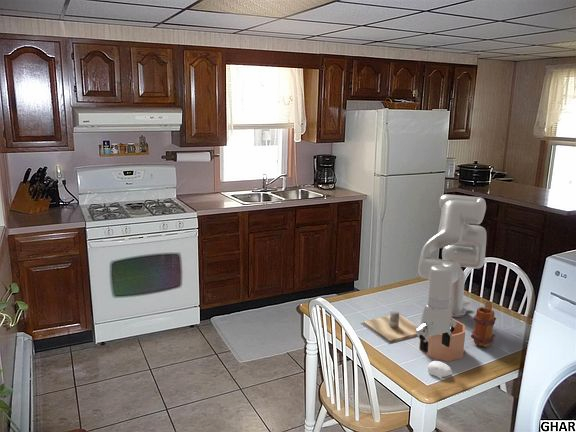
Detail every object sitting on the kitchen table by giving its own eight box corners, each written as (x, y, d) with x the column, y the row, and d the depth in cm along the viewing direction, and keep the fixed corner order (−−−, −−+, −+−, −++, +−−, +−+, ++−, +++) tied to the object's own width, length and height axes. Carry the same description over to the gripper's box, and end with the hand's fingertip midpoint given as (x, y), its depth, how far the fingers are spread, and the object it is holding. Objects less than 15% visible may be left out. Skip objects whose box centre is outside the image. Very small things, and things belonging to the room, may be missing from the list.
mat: (397, 315, 208) (397, 314, 207) (429, 334, 190) (429, 333, 190) (360, 324, 199) (360, 323, 199) (389, 345, 182) (389, 344, 182)
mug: (491, 351, 177) (495, 315, 174) (468, 346, 181) (472, 310, 178) (497, 336, 189) (501, 301, 186) (476, 330, 193) (479, 297, 190)
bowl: (441, 336, 189) (443, 313, 186) (472, 354, 175) (474, 330, 173) (411, 344, 182) (412, 320, 180) (439, 364, 168) (442, 338, 166)
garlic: (454, 373, 163) (455, 363, 162) (447, 382, 158) (448, 372, 157) (432, 365, 168) (433, 356, 167) (424, 373, 163) (425, 364, 162)
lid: (397, 315, 206) (398, 301, 204) (425, 333, 190) (426, 317, 189) (363, 323, 199) (364, 308, 197) (389, 342, 183) (390, 326, 181)
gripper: (449, 294, 165) (445, 338, 169) (411, 301, 158) (407, 348, 162) (466, 301, 159) (461, 347, 162) (426, 310, 151) (422, 358, 155)
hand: (434, 348), depth 162 cm, fingers open, 9 cm apart
